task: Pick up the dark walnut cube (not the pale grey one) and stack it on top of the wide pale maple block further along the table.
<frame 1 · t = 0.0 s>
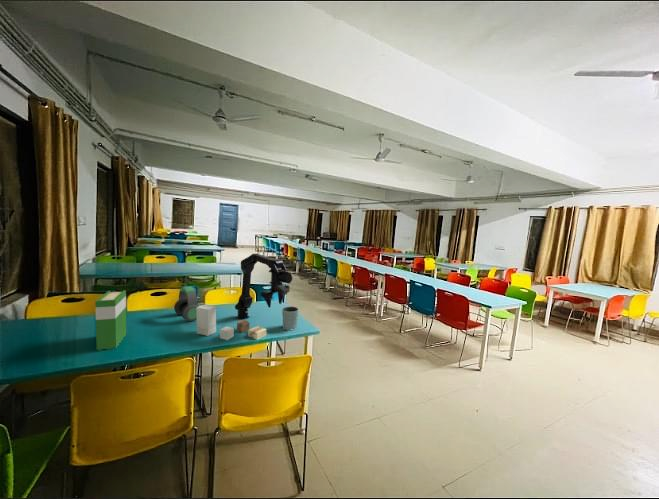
hand: (274, 305, 163), 15 cm above the table, fingers open, 9 cm apart
skincare box: (206, 333, 152), on the table
maple block: (257, 336, 153), on the table
hardback book: (112, 341, 136), on the table
grey cup: (289, 327, 168), on the table
grey cube: (226, 337, 149), on the table
walnut cube: (243, 330, 160), on the table
headphones: (187, 317, 173), on the table
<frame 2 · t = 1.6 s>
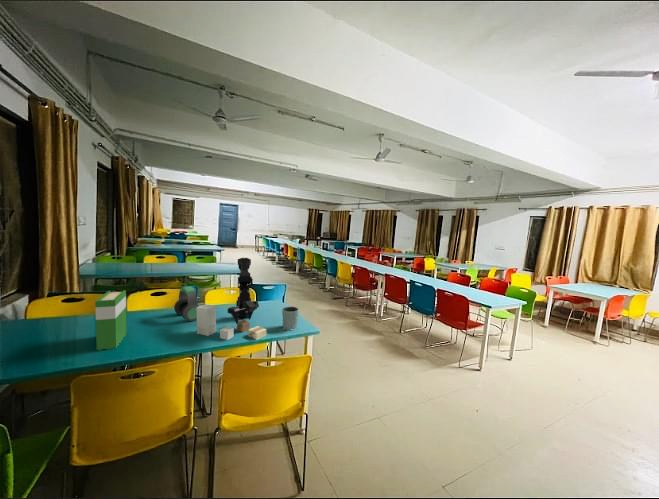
hand: (243, 321, 159), 5 cm above the table, fingers open, 9 cm apart
nothing on the table moved.
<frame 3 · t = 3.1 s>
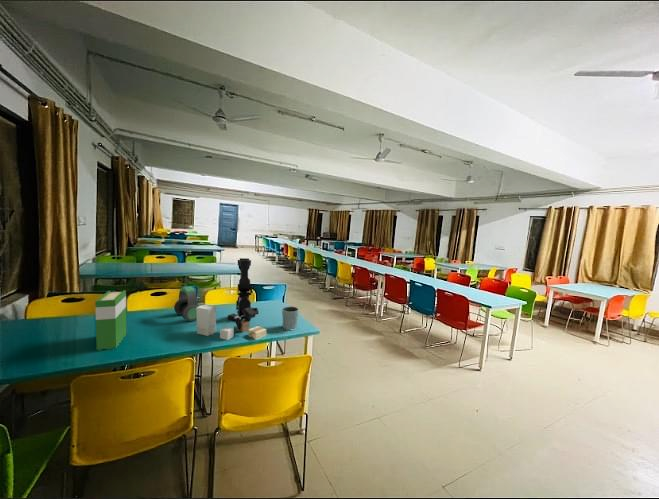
hand: (243, 328, 159), 1 cm above the table, fingers closed on walnut cube, 5 cm apart
walnut cube: (243, 330, 160), on the table, touching gripper
everything else where it was.
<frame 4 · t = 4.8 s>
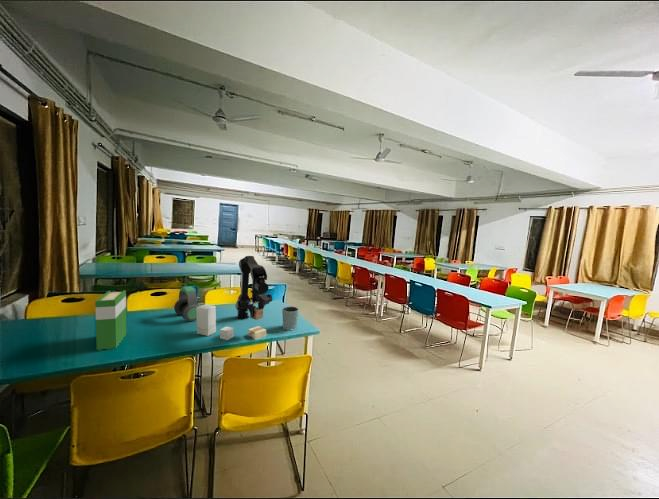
hand: (256, 316, 152), 11 cm above the table, fingers closed on walnut cube, 5 cm apart
walnut cube: (256, 317, 152), point 10 cm above the table, touching gripper
everything else where it was.
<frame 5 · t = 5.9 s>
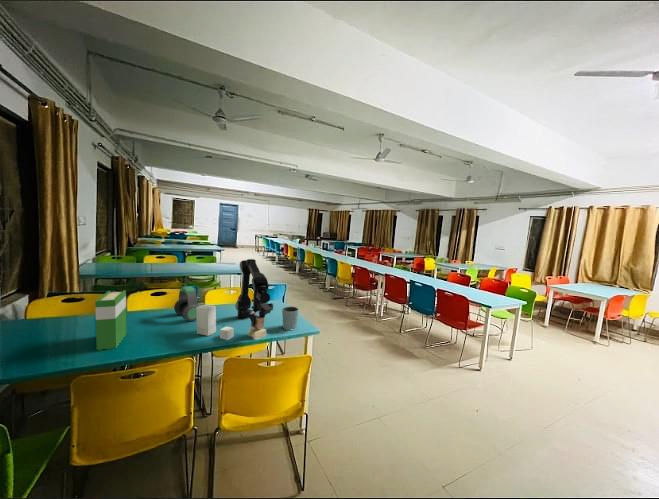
hand: (257, 324, 153), 6 cm above the table, fingers closed on walnut cube, 5 cm apart
walnut cube: (257, 326, 153), point 5 cm above the table, touching gripper
everything else where it was.
when the fingers open (6 cm above the table, at t = 6.5 s): walnut cube drops 2 cm, resting on maple block.
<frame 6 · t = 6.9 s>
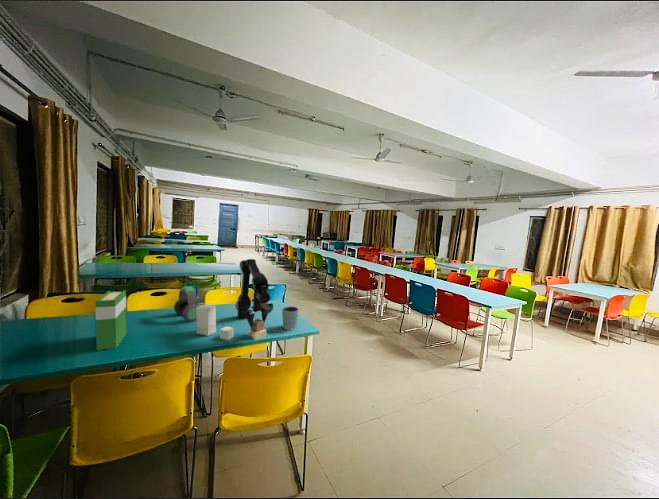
hand: (257, 324, 153), 6 cm above the table, fingers open, 9 cm apart
maple block: (257, 336, 153), on the table, touching walnut cube
walnut cube: (257, 329, 153), point 4 cm above the table, touching maple block
everything else where it was.
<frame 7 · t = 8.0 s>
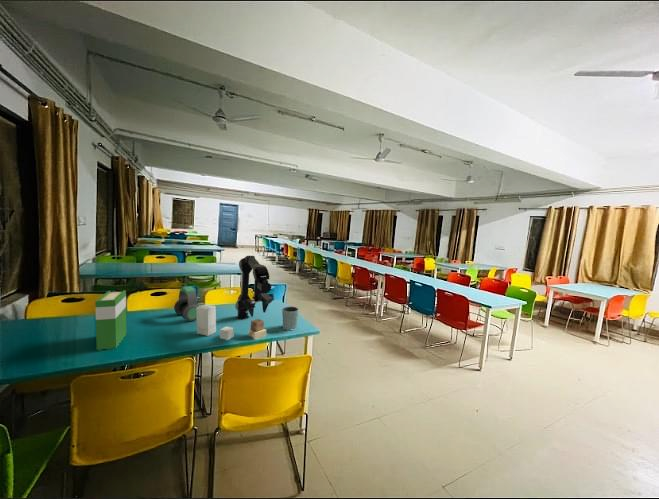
hand: (258, 314, 154), 12 cm above the table, fingers open, 9 cm apart
nothing on the table moved.
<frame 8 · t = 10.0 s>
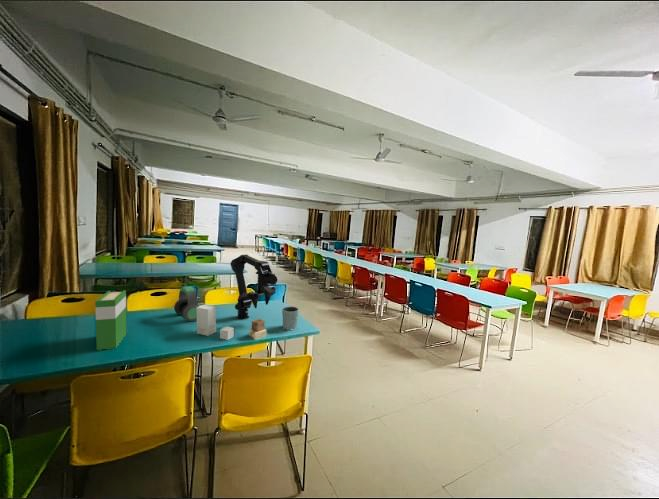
hand: (261, 306, 167), 12 cm above the table, fingers open, 9 cm apart
nothing on the table moved.
at the end: walnut cube 0.2 cm off-centre on the maple block, point 4.0 cm above the maple block's base; walnut cube tilted 0°; the gripper is holding nothing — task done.
